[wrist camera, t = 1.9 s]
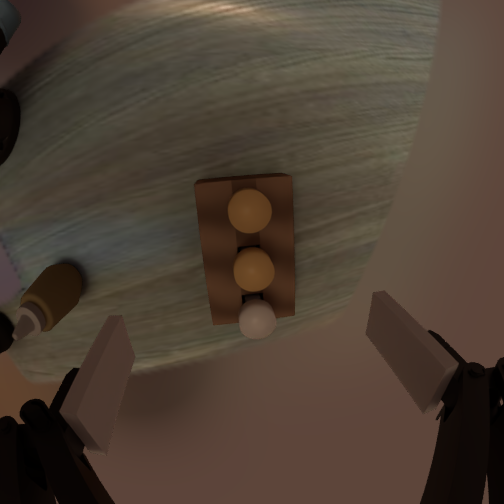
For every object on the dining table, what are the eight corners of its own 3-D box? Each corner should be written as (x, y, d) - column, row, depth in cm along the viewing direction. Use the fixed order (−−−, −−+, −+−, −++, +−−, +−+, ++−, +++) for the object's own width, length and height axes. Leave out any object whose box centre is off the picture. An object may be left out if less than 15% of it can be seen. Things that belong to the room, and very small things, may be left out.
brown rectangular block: (197, 179, 39) (194, 184, 33) (281, 172, 40) (291, 176, 34) (213, 304, 46) (213, 325, 40) (285, 296, 47) (294, 315, 41)
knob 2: (234, 282, 41) (237, 311, 33) (265, 279, 41) (275, 306, 34) (236, 309, 42) (241, 341, 35) (267, 306, 43) (276, 336, 35)
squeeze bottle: (90, 264, 41) (36, 323, 24) (87, 304, 43) (43, 370, 26) (51, 251, 39) (-10, 300, 22) (50, 291, 41) (-1, 348, 24)
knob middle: (229, 236, 38) (232, 256, 31) (263, 232, 39) (273, 252, 31) (232, 267, 40) (236, 293, 33) (264, 263, 40) (275, 289, 33)
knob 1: (224, 184, 36) (226, 192, 29) (259, 181, 36) (270, 188, 29) (227, 218, 38) (230, 235, 30) (262, 215, 38) (272, 231, 31)
